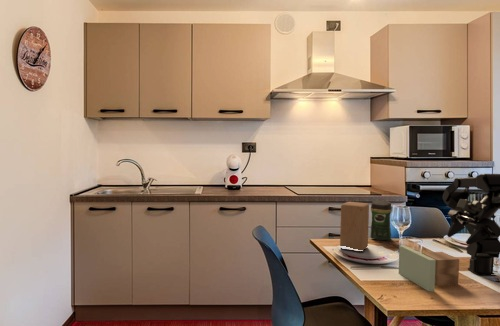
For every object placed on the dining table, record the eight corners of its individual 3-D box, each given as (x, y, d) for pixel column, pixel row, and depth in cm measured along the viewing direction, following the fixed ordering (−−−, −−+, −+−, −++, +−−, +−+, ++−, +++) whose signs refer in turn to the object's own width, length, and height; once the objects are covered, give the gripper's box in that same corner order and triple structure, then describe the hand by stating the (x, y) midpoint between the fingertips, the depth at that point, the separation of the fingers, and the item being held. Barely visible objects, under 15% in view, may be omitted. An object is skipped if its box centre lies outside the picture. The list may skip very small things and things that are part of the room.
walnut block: (441, 275, 125) (442, 251, 125) (458, 284, 117) (459, 259, 117) (420, 276, 124) (421, 252, 123) (436, 285, 116) (437, 260, 115)
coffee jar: (391, 238, 174) (393, 200, 173) (389, 242, 167) (391, 203, 166) (371, 235, 179) (372, 199, 178) (368, 239, 172) (369, 201, 171)
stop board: (403, 272, 127) (404, 245, 126) (434, 291, 111) (435, 259, 111) (398, 273, 127) (399, 245, 126) (428, 291, 111) (429, 260, 110)
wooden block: (362, 253, 149) (363, 206, 148) (339, 249, 154) (340, 204, 153) (368, 247, 157) (369, 203, 156) (346, 244, 163) (347, 201, 162)
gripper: (453, 187, 130) (425, 217, 129) (496, 195, 112) (463, 231, 111) (471, 208, 132) (443, 238, 131) (516, 219, 113) (484, 254, 112)
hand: (457, 239), depth 121 cm, fingers open, 8 cm apart
